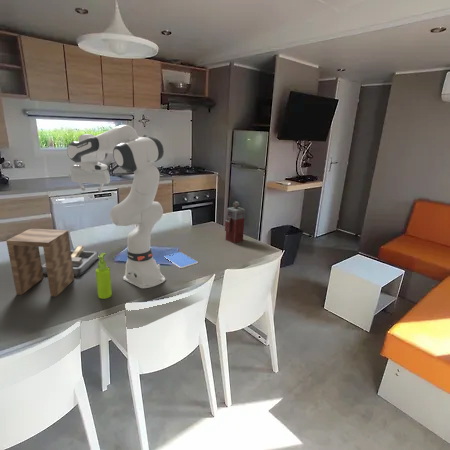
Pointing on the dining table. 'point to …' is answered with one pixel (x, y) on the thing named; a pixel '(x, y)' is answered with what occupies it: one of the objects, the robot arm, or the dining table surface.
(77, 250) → the scraper
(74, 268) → the tray
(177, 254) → the blue notebook
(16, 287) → the walnut bench
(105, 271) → the soap dispenser
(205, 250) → the dining table surface
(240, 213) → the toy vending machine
